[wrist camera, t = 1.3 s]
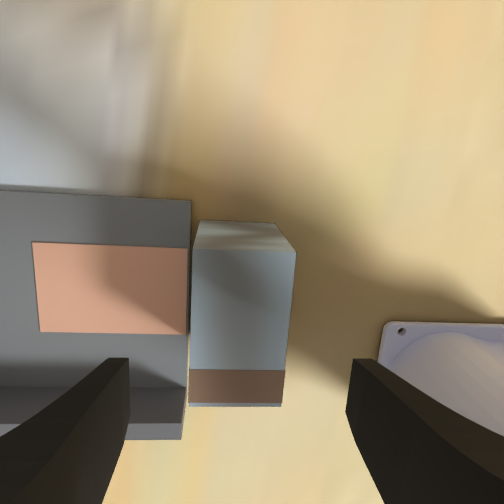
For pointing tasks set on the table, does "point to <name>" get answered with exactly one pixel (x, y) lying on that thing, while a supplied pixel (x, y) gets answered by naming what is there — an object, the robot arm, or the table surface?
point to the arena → (94, 302)
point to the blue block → (239, 314)
